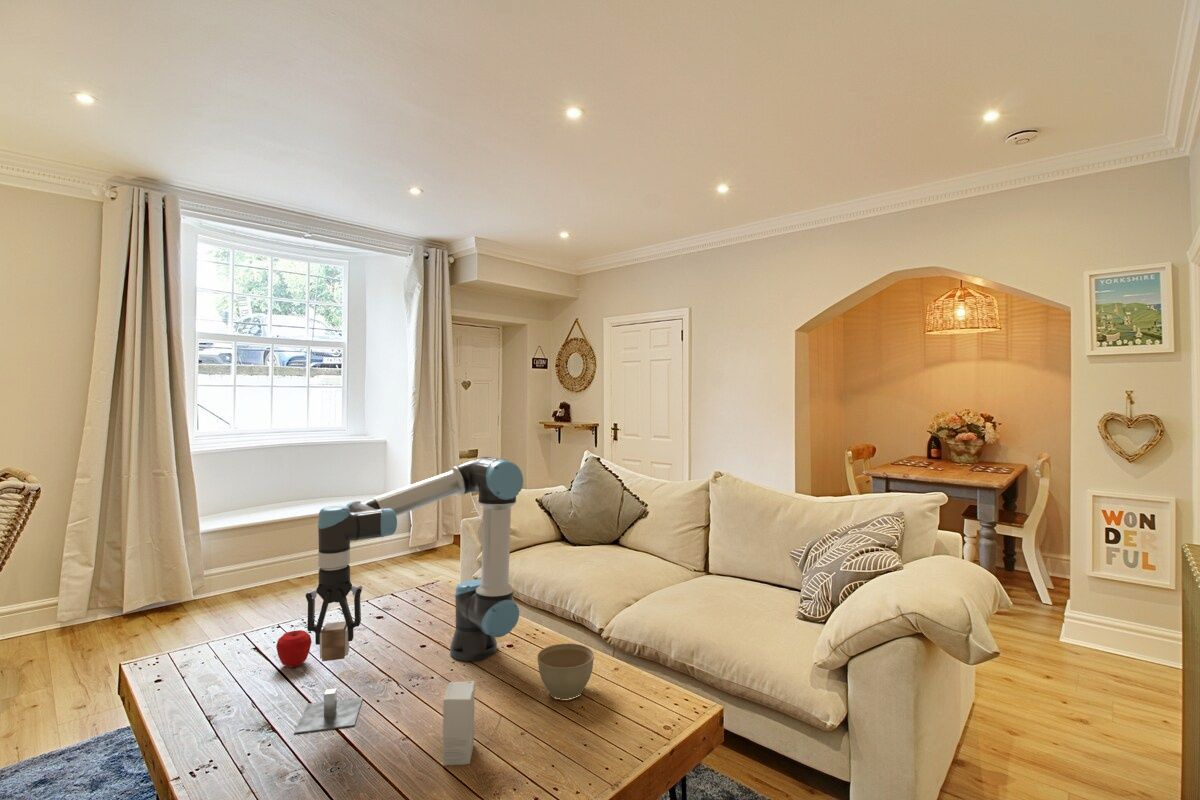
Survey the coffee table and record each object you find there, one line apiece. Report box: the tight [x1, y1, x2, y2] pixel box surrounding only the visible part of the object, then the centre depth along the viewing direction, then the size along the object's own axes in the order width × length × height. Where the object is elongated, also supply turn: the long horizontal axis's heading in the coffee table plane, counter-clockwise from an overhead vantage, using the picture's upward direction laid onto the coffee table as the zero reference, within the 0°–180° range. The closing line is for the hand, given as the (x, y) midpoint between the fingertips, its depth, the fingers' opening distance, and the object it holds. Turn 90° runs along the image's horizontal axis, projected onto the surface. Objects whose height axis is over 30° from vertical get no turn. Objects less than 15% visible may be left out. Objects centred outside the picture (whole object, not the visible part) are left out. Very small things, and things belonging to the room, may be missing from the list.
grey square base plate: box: [293, 687, 363, 735], centre depth 152 cm, size 14×14×6 cm
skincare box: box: [442, 680, 476, 767], centre depth 135 cm, size 8×7×16 cm
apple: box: [275, 629, 312, 668], centre depth 181 cm, size 10×10×11 cm
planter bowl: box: [537, 642, 595, 699], centre depth 164 cm, size 16×16×11 cm
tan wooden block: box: [321, 620, 347, 662], centre depth 151 cm, size 5×5×8 cm
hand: (334, 654), depth 151 cm, fingers closed on tan wooden block, 5 cm apart
